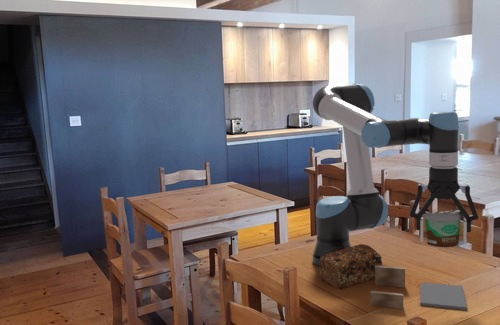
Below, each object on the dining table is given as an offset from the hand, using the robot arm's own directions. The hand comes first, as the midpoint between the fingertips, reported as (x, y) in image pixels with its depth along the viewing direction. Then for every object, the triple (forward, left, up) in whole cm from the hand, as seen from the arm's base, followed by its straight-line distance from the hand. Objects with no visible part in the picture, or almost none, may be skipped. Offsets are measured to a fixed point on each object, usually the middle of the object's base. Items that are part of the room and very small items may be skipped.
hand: (442, 241), depth 134 cm
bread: (-28, +8, -17) cm, 34 cm away
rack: (-15, -3, -17) cm, 23 cm away
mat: (0, 0, -17) cm, 17 cm away
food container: (+1, 0, -1) cm, 2 cm away
